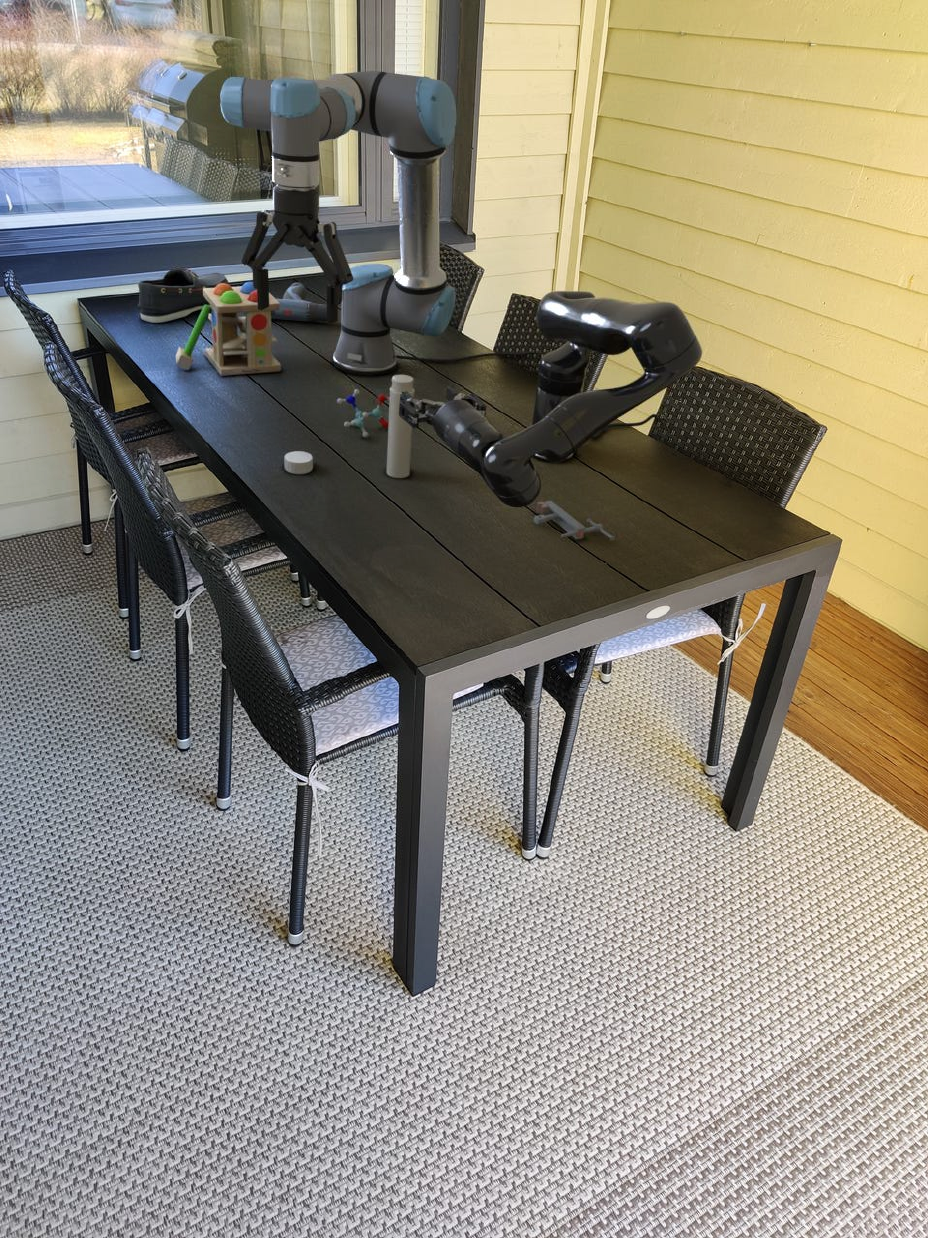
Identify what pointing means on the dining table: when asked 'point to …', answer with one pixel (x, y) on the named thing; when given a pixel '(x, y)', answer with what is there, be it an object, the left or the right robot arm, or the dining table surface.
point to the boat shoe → (175, 294)
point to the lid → (298, 462)
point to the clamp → (565, 520)
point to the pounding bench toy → (235, 332)
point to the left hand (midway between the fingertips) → (297, 315)
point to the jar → (399, 430)
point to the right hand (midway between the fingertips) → (426, 393)
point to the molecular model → (360, 415)
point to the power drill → (299, 306)
